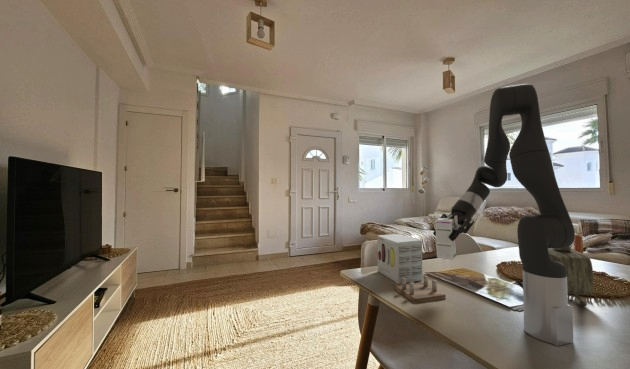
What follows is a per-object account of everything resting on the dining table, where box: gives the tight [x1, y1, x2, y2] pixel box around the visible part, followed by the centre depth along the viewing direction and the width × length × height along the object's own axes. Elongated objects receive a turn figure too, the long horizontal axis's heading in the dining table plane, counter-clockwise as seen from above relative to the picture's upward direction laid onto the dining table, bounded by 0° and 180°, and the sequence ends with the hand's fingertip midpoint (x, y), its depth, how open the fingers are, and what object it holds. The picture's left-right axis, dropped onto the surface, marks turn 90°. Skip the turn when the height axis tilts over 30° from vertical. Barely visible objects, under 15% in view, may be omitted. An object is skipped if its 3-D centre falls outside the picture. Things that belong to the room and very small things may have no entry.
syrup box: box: [435, 217, 457, 261], centre depth 96 cm, size 6×6×14 cm
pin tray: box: [394, 275, 447, 304], centre depth 98 cm, size 13×13×6 cm
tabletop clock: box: [548, 246, 594, 307], centre depth 93 cm, size 14×9×25 cm, turn 168°
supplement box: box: [376, 233, 424, 285], centre depth 119 cm, size 17×13×18 cm
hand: (442, 237), depth 96 cm, fingers closed on syrup box, 7 cm apart
